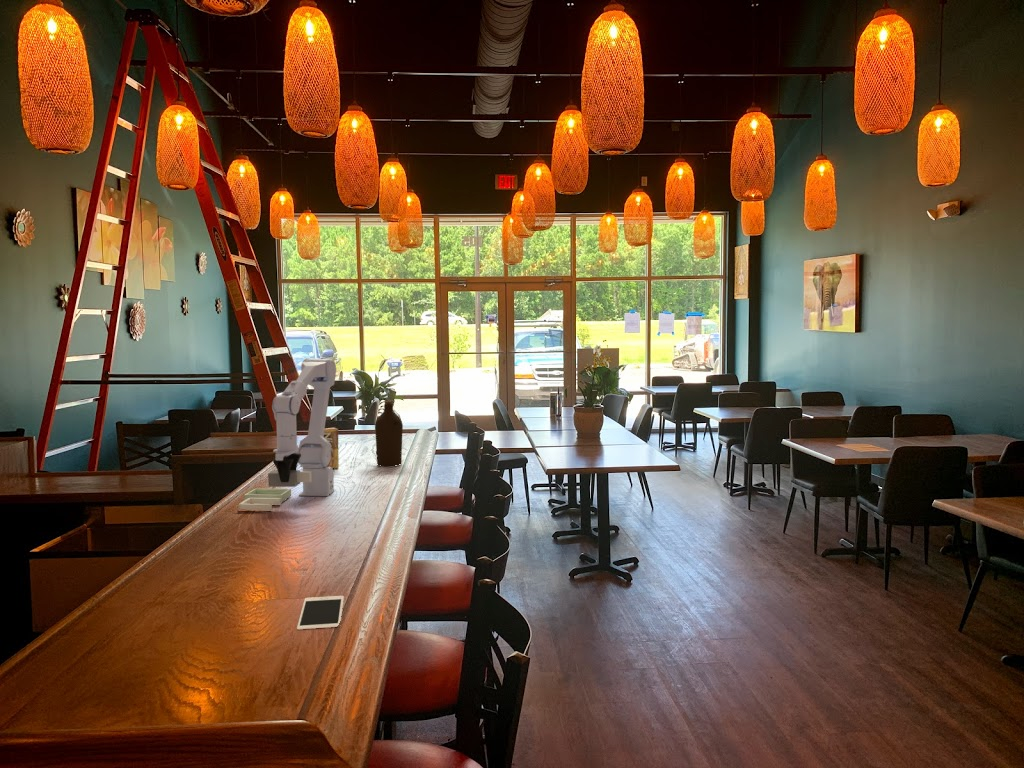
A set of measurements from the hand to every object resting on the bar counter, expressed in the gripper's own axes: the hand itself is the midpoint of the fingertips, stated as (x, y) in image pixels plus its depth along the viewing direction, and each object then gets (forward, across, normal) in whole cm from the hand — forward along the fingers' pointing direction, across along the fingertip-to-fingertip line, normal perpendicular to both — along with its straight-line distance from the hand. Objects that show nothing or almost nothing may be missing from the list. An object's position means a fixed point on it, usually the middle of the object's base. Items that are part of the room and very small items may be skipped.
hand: (287, 479), depth 230 cm
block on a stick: (+1, 0, +1) cm, 2 cm away
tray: (+8, -9, -10) cm, 16 cm away
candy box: (+9, -58, -5) cm, 59 cm away
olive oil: (+9, -68, +17) cm, 71 cm away
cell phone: (+9, +81, +34) cm, 88 cm away
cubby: (+8, +2, -8) cm, 11 cm away
